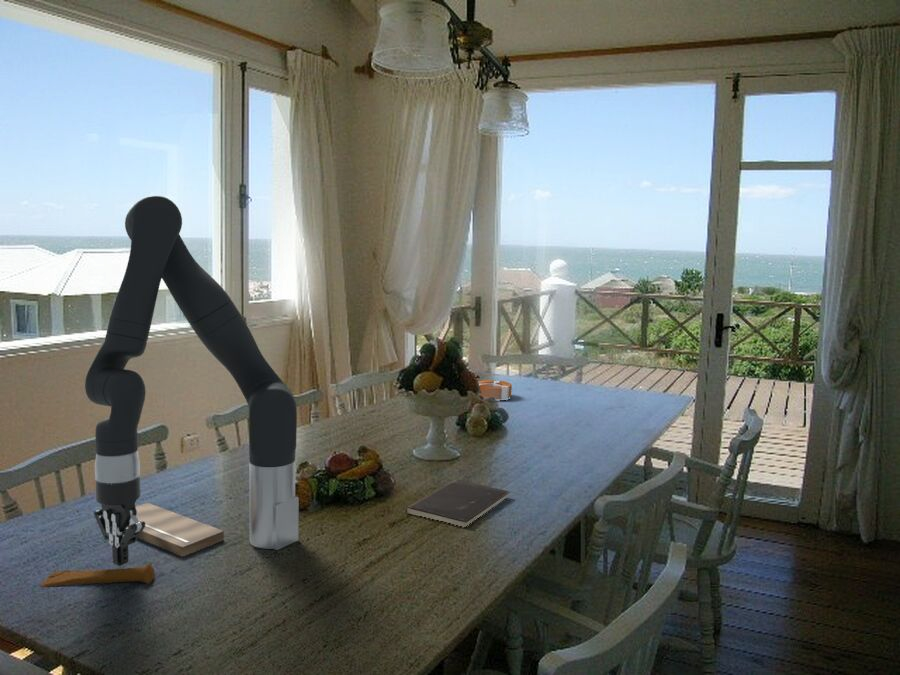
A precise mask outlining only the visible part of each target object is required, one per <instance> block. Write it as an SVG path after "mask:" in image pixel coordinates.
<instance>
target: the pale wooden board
mask: <svg viewBox="0 0 900 675" xmlns="http://www.w3.org/2000/svg"><path fill="white" fill-rule="evenodd" d="M135 507H136V510H137V515H136V517H137V519H138V520H139V522H140V521H144V522H145V527H144V529H143V531H142V532H141V534H140V536H139V537H138V539H139V540H142V541H143V540H144V542H146V543H148V542H149V543H148V544H150V545H153V544H154V546H155V545H156V547H158V546H159V547H158V548H160V547H161V548H160V549H163V548H164V549H163V550H165V549H166V550H165V551H167V550H168V551H167V552H170V553H172V552H173V553H172V554H175V555H176V556H177V555H178V556H180V557H181V558H182V557H183V556H184V557H185V556H188V555H190V553H191V554H194V553H195V552H198V551H200V549H201V550H203V549H206V548H208V547H211V546H213V545H215V544H217V543H220V542H222V541H224V540H225V538H224V537H225V536H224V533H225V531H224V530H223V529H219V528H218V527H215V526H214V527H213V526H211V525H208V524H205V523H203V522H201V521H198V520H195V519H192V518H190V517H187V516H185V515H181V514H179V513H176V512H173V511H171V510H168V509H165V508H163V507H161V506H157V505H154V504H152V503H149V502H145V503H143V504H142V503H141V504H139V505H135ZM212 544H213V545H212ZM207 546H208V547H207ZM205 547H206V548H205ZM202 548H203V549H202ZM197 550H198V551H197Z"/></svg>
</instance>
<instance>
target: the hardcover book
mask: <svg viewBox="0 0 900 675" xmlns="http://www.w3.org/2000/svg"><path fill="white" fill-rule="evenodd" d="M510 493H511V491H509V490H504V489H501V488H497V487H491V486H487V485H481V484H478V483H473V482H470V481H464V480H459V479H455V480H453V481H451V482H449V483H447V484H446V485H443V486H441V487H440V488H438V489H437V490H435V491H433V492H431V493H430V494H428V495H426V496H424V497H422V498H421V499H419V500H417V501H415V502H414V503H412V504H409V505H408V506H406V508H405V514H409V515H413V516H417V517H420V516H422V517H421V518H424V517H426V518H425V519H428V518H430V519H429V520H432V519H434V520H433V521H436V520H439V521H438V522H440V521H444V522H447V523H446V524H448V523H451V524H450V525H452V524H454V525H453V526H456V525H458V526H457V527H460V526H462V527H461V528H464V527H466V526H467V525H468V526H470V525H471V524H473V523H474V522H475V521H474V520H476V519H477V518H479V517H480V516H481V517H483V516H484V515H485V514H484V513H486V512H487V511H488V510H490V509H491V508H492V507H494V506H495V505H497V504H498V503H499V502H501V501H502V500H503V499H505V498H506V497H509V495H510ZM501 503H502V502H501ZM497 506H498V505H497ZM494 508H495V507H494ZM491 510H492V509H491ZM491 510H490V511H491ZM487 513H488V512H487ZM487 513H486V514H487ZM483 514H484V515H483ZM482 515H483V516H482ZM481 517H480V518H481ZM480 518H479V519H480ZM477 520H478V519H477ZM477 520H476V521H477ZM473 521H474V522H473ZM444 522H443V523H444ZM472 522H473V523H472ZM470 523H471V524H470ZM469 524H470V525H469ZM468 526H467V527H468ZM467 527H466V528H467Z"/></svg>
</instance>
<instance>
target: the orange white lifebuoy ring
mask: <svg viewBox="0 0 900 675" xmlns="http://www.w3.org/2000/svg"><path fill="white" fill-rule="evenodd" d="M494 378H495V379H494V380H493V379H492V380H491V379H490V380H489V379H488V380H487V379H485V380H479V381H478V382H479V386H480V390H481V395H482V396H484V397H494V398H496V399H505V398H509V397H511V398H512V389H513V388H512V386H513V385H512V383H511V382H508V381H504V380H500V381H499V380H497V378H496V377H494Z"/></svg>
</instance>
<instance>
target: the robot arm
mask: <svg viewBox="0 0 900 675" xmlns="http://www.w3.org/2000/svg"><path fill="white" fill-rule="evenodd" d="M182 225H183V217H182V213H181V211H180V209H179V207H178V205H176V203H175V202H173V201H172V200H171V199H170V198H168V197H165V196H162V195H149V196H148V195H147V196H146V197H143V198H141V199H139V200H138V201H137V202H136V203H134V205H133V206H132V207H131V208H130V209H129V211H128V212H127V213H126V216H125V220H124V227H125V232H126V234H127V236H128V238H129V239H130V241H131V242H130V251H129V257H128V262H127V265H126V270H125V272H124V276H123V279H122V281H121V284H120V287H119V290H118V292H117V295H116V298H115V300H114V303H113V307H112V309H111V313H110V317H109V321H108V325H107V328H106V334H105V338H104V342H103V344H102V345H101V347H100V349H99V350H98V352H97V354H96V356H95V357H94V360H93V361H92V364H90V367H89V369H88V371H87V373H86V376H85V382H84V389H85V394H86V397H87V399H89V400H90V402H92V403H94V404H96V405H100V406H106V407H110V413H109V414H110V415H109V417H108V418H105V419H102V420H100V421H98V423H97V424H96V426H95V433H94V434H95V435H94V436H95V463H94V478H95V480H94V481H95V501H96V502H97V503H98V504H99V505H100V508H99V509H97V510H94V512H93V516H94V518H95V520H96V523H97V525H98V527H99V529H100V531H101V534H102V536H103V539H104V540H108V542H109V545H110V546H112V548H111V550H112V551H111V552H112V564H113V565H116V566H118V567H121V566H122V565H126V564H127V563H128V562H129V545H132V544H135V543H136V542H137V540H138V539H139V538H138V537H139V536H140V534H141V532H142V531H143V529H144V527H145V522H144V521H140V522H139V520H138V519H137V517H136V515H137V510H136V507H135V506H136V502H137V501H138V500H139V498H140V497H141V466H140V465H141V462H140V455H139V448H138V447H139V445H138V444H139V443H138V442H139V441H138V428H139V424H140V421H141V415H142V411H143V407H144V404H145V401H146V392H147V391H146V385H145V381H144V380H143V377H142V376H141V375H140V374H139V373H138V372H136V371H135V370H130V369H126V368H125V367H126V366H127V364H128V362H129V361H130V359H134V358H138V357H139V358H140V357H142V355H144V353H145V351H146V348H147V344H148V339H149V335H150V332H151V331H150V330H151V325H152V322H153V317H154V312H155V309H156V308H155V307H156V303H157V299H158V298H157V297H158V295H159V294H158V293H159V290H160V285H161V282H162V281H163V282H164V284H165V286H166V287H167V289H168V291H169V293H170V294H171V296H172V298H173V300H174V301H175V303H176V305H177V306H178V308H179V310H180V311H181V313H182V314H183V316H184V317H185V319H186V321H187V322H188V324H189V325H190V327H191V328H192V329H193V331H194V333H195V334H196V337H198V339H199V340H200V341H201V342H202V344H203V345H204V346H205V347H206V349H207V350H208V351H209V352H210V353H211V354H212V355H213V357H214V358H216V360H217V361H218V362H219V363H220V364H221V365H223V367H224V368H225V369H226V370H227V371H228V372H229V374H230V376H232V378H233V379H234V380H235V382H236V384H237V386H238V387H239V389H240V391H241V393H242V395H243V397H244V399H245V402H246V404H247V406H248V420H249V421H248V427H249V428H248V432H249V433H248V436H249V438H248V439H249V441H248V444H249V445H248V458H249V460H248V461H249V463H248V464H249V466H248V468H249V469H248V473H249V474H248V477H249V478H248V479H249V480H248V481H249V482H248V483H249V486H248V488H249V489H248V490H249V491H248V492H249V493H248V496H249V498H248V500H249V501H248V502H249V505H248V506H249V507H248V508H249V509H248V510H249V522H248V523H249V543H250V545H251V546H253V547H254V548H258V549H265V550H266V549H267V550H268V549H269V550H270V549H271V550H275V551H278V550H281V549H283V548H285V547H287V546H289V545H291V544H294V543H296V542H298V541H299V517H300V516H299V513H300V512H299V511H300V510H299V505H300V503H299V501H300V500H299V497H298V496H296V450H297V427H298V426H297V423H298V422H297V421H298V420H297V418H298V415H297V413H298V412H297V411H298V410H297V409H298V408H297V403H296V400H295V397H294V394H293V392H292V390H291V389H290V388H289V387H288V386H287V384H285V383H284V382H283V380H282V379H281V377H280V376H279V375H278V374H277V373H276V372H275V370H274V369H273V368H272V366H271V365H270V364H269V362H268V361H267V360H266V358H265V357H264V355H263V354H262V351H261V350H260V348H259V347H258V346H259V345H258V344H257V342H256V340H255V338H254V335H253V333H252V332H251V330H250V328H249V327H248V324H247V323H246V321H245V319H244V318H243V316H242V314H241V312H240V311H239V310H238V308H237V306H236V305H235V303H234V301H233V300H232V299H231V297H230V296H229V295H228V293H227V292H226V291H225V289H224V288H223V287H222V286H221V284H219V283H218V282H217V281H216V279H214V278H213V277H212V276H211V275H210V274H209V273H208V272H207V271H206V270H205V269H204V268H202V266H201V265H200V264H199V263H198V262H197V261H196V259H195V258H194V256H192V254H191V253H190V250H189V249H188V248H187V246H186V244H185V242H184V241H183V238H182V236H181V235H180V233H181V230H182Z"/></svg>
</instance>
